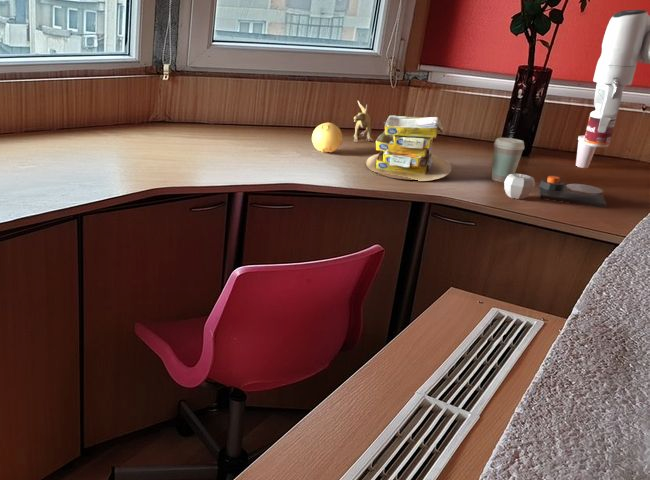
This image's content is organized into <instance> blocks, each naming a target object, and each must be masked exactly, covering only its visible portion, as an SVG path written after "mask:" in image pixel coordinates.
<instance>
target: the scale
mask: <svg viewBox="0 0 650 480" xmlns="http://www.w3.org/2000/svg"><path fill="white" fill-rule="evenodd" d="M547 179H548V178H543V179H540V182H539V183H538V195H539V194H540V196H539V199H540V198H541V199H540V200H544V199H549V200H548V201H551V200H556V201H555V202H558V201H563V202H562V203H565V202H569V203H568V204H573V203H574V204H573V205H581V206H588V207H596V208H601V209H606V207H607V202H606V200H605V198H604V194H603V193H602V194H600V195H586V194H580V193H575V192H572V191H569V190H567V189H566V186H565V182H564V181H561V180H559V183H558V184H554V183H549V182H547Z"/></svg>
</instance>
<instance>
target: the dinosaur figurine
mask: <svg viewBox="0 0 650 480" xmlns="http://www.w3.org/2000/svg"><path fill="white" fill-rule="evenodd" d="M357 104H358V106H359V108H360V110H361V112H358V113H357V114H356V115H355V116H354V117H353V122H354V123H355V126H354V135H353V136H352V137H351V138H350V139H352V140H353V143H355V142H356V143H359V136H361V137H364V136H365V134H366V138H365V141H366V142H374V140H373V138H372V126H371V125H372V122H371V121H372V120H371V117H370V115H369V113H368V107H369V104H368V103H366V105H365V107H364V106H363V105H362V104H361V103H360V101H359V100H357ZM360 128H361V129H365V130H364V131H361V132H360Z"/></svg>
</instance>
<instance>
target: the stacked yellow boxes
mask: <svg viewBox="0 0 650 480" xmlns="http://www.w3.org/2000/svg"><path fill="white" fill-rule="evenodd" d="M383 124H384V130H383V132H382V133H380V135H379V136H378V137H377V138H376V140H375V150H376V151H379V153H376V154H373V155H370V156H369V157H368V158H367V159H366V161H365V165H366V167H367V168H368V169H369V170H370V172H372V171H374V172H380V173H383V174H385V173H386V174H391V175H398V176H403V177H408V178H411V179H415V180H418V181H417V182H428V181H433V180H438V179H439V180H440V179H442V178H444V177H446V176H448V175H449V174H450V173H451V171H452V166H451V164H450V163H449V162H448V161H446V160H445V159H443V158H442V157H439V156H437V155H433V154H432V151H433V142H434V141H433V140H434V139H436V138H437V136H438V131H439V132H440V133H441V134H445V131H444V128H443V125H442V123H441V121H440V118H438V116H430V117H429V116H428V117H423V116H421V117H420V116H418V117H417V116H404V115H401V116H400V115H394V114H392V115H389V116H388V117H387V120H385V121H384V122H383ZM374 172H373V173H374Z"/></svg>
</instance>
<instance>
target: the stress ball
mask: <svg viewBox="0 0 650 480" xmlns="http://www.w3.org/2000/svg"><path fill="white" fill-rule="evenodd" d="M311 142H312V145H313V147H314V148H315V149H316V150H317V151H319V152H320V151H321V152H320V153H323V152H330V153H332V152H334V151H336V150H337V149H338V148H340V146H341V145H342V143H343V133H342V130H341V128H340V127H339V126H337V125H336V124H334V123H333V122H324V123H321V124H319V125H317V126H316V127H315V128H314V130H313V132H312V135H311Z"/></svg>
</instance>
